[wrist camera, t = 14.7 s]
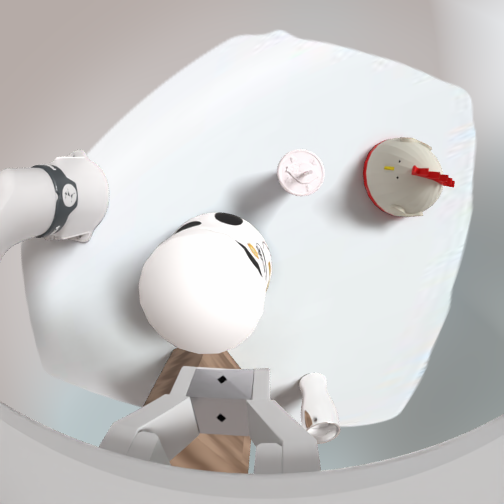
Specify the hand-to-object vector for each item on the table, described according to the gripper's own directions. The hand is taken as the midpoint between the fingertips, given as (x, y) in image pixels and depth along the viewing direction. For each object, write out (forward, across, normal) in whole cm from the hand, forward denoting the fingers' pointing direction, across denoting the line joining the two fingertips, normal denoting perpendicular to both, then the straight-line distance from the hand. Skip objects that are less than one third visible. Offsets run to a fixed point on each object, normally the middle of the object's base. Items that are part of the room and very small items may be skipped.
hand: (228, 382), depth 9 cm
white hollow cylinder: (+39, +10, -34) cm, 53 cm away
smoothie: (+40, +6, +8) cm, 41 cm away
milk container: (+39, -7, -6) cm, 40 cm away
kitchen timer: (+40, +25, +8) cm, 48 cm away
